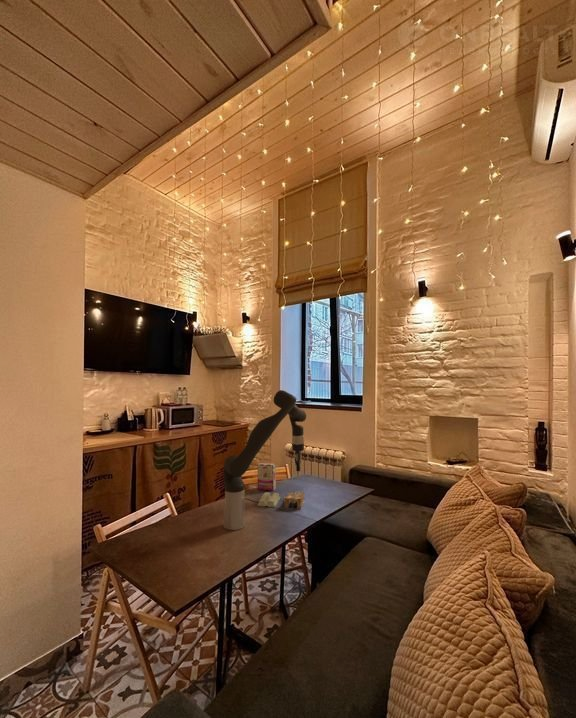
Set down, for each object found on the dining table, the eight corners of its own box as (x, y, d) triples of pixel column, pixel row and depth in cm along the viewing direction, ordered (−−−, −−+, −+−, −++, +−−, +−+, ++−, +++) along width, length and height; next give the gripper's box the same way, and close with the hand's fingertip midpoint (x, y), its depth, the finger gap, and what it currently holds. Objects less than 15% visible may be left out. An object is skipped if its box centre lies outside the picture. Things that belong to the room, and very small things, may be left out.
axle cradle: (257, 506, 184) (257, 500, 185) (263, 497, 198) (263, 492, 198) (275, 507, 183) (275, 501, 183) (280, 498, 196) (280, 493, 197)
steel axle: (296, 507, 183) (298, 500, 183) (289, 504, 184) (291, 498, 184) (300, 498, 197) (302, 492, 197) (293, 496, 198) (295, 490, 198)
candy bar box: (276, 488, 214) (275, 463, 215) (273, 491, 209) (273, 465, 210) (260, 487, 217) (260, 462, 218) (257, 489, 212) (257, 464, 214)
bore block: (284, 508, 181) (284, 497, 181) (289, 498, 196) (289, 488, 197) (300, 509, 179) (300, 498, 179) (304, 499, 195) (304, 489, 195)
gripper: (293, 440, 211) (293, 468, 210) (290, 444, 198) (290, 473, 197) (305, 440, 210) (305, 468, 209) (302, 444, 197) (302, 474, 196)
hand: (298, 471), depth 203 cm, fingers closed
